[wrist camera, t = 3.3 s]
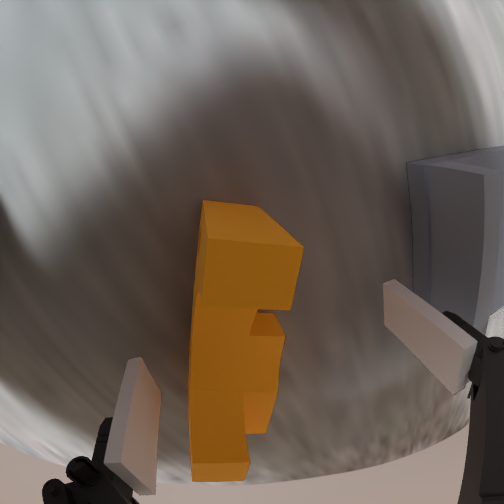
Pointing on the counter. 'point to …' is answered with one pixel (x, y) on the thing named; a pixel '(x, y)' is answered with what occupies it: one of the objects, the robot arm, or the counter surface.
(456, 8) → the counter surface
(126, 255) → the counter surface
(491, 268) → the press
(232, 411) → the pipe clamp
